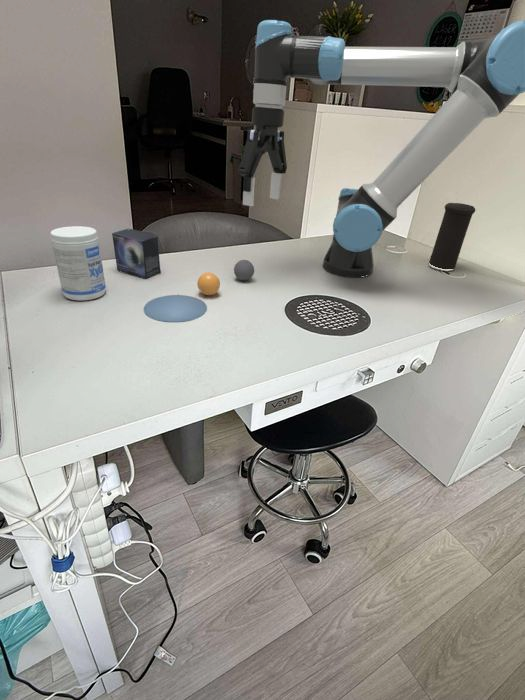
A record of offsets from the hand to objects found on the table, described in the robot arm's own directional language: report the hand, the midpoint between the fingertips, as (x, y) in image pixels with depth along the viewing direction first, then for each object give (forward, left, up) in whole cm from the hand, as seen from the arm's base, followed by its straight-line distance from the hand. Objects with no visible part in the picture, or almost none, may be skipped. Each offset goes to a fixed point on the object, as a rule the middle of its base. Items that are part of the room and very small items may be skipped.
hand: (261, 202), depth 102 cm
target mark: (-1, +33, -19) cm, 38 cm away
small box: (+23, +24, -20) cm, 38 cm away
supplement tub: (+20, +42, -20) cm, 50 cm away
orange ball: (-1, +22, -17) cm, 27 cm away
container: (-40, -47, -20) cm, 65 cm away
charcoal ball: (-1, +8, -17) cm, 18 cm away
